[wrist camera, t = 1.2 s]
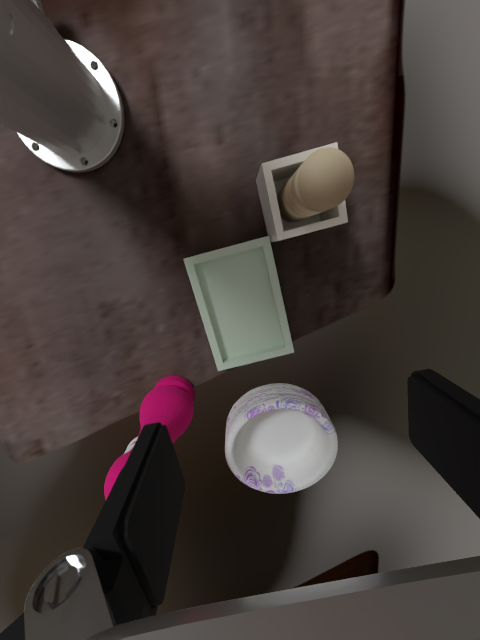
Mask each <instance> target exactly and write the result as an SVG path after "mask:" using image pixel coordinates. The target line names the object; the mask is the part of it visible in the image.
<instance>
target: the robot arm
mask: <svg viewBox="0 0 480 640" xmlns="http://www.w3.org/2000/svg"><path fill="white" fill-rule="evenodd" d="M124 122H125V118H124V107H123V103H122V99H121V95H120V92H119V90H118V88H117V85H116V83H115V81H114V80H113V78H112V76H111V75H110V73H109V72H108V70H107V69H106V68H105V66H104V65H103V64H102V62H101V61H100V60H99V59H98V58H97V57H96V56H95V55H94V54H93V53H92V52H90V51H89V50H87V49H86V48H85V47H83V46H82V45H80V44H78V43H75V42H73V41H71V40H68V39H63V38H62V36H61V35H60V34H59V33H58V32H57V30H56V29H55V28H54V27H53V25H52V23H51V21H50V20H49V19H48V18H47V17H45V15H44V12H43V7H42V3H41V1H40V0H0V124H2V125H4V126H6V127H8V128H10V129H12V130H14V131H16V132H17V134H18V136H19V137H20V138H21V140H22V141H23V143H24V144H25V145H26V146H27V147H28V149H29V150H30V151H31V152H32V153H33V154H34V155H36V156H37V157H38V158H40V159H41V160H42V161H44V162H46V163H48V164H50V165H52V166H54V167H56V168H58V169H61V170H64V171H68V172H74V173H80V172H88V171H92V170H95V169H97V168H99V167H101V166H103V165H104V164H105V163H106V162H108V161H109V160H110V159H111V158H112V156H113V155H114V154H115V153H116V151H117V149H118V147H119V145H120V143H121V139H122V136H123V132H124ZM116 125H117V127H116V128H115V126H116ZM87 162H88V164H87ZM408 418H409V437H410V440H411V442H412V444H413V445H414V446H415V448H416V449H417V450H418V451H419V452H420V453H421V454H422V455H423V456H424V458H425V459H426V460H427V461H428V462H429V463H430V464H431V465H432V466H433V467H434V469H436V471H437V472H438V473H439V474H440V475H441V476H442V477H443V479H444V480H445V481H446V482H447V483H448V484H449V485H450V486H451V487H452V488H453V490H454V491H456V493H457V494H458V495H459V496H460V497H461V498H462V500H463V501H464V502H465V503H466V504H467V505H468V506H469V507H470V508H471V509H472V511H473V512H474V513H475V514H476V515H477V516H478V517H479V518H480V399H478V398H476V397H475V396H473V395H472V394H470V393H468V392H467V391H465V390H464V389H462V388H461V387H459V386H457V385H456V384H454V383H453V382H451V381H449V380H448V379H446V378H445V377H443V376H441V375H440V374H438V373H437V372H435V371H433V370H431V369H425V370H420V371H415V372H413V373H412V374H411V377H409V378H408ZM184 491H185V479H184V476H183V473H182V470H181V467H180V464H179V461H178V458H177V455H176V452H175V449H174V447H173V443H172V440H171V438H170V435H169V432H168V429H167V426H166V425H162V424H161V423H160V422H157V423H152V424H147V425H144V427H143V428H142V430H141V432H140V435H139V437H138V439H137V441H136V443H135V445H134V447H133V449H132V451H131V453H130V455H129V457H128V459H127V462H126V464H125V466H124V467H123V468H122V470H121V471H120V473H119V475H118V477H117V479H116V481H115V483H114V485H113V487H112V489H111V491H110V493H109V495H108V497H107V499H106V501H105V504H104V506H103V508H102V510H101V512H100V514H99V516H98V518H97V520H96V522H95V524H94V526H93V528H92V530H91V532H90V534H89V536H88V538H87V540H86V543H85V544H84V547H83V548H76V549H73V550H70V551H68V552H66V553H64V554H63V555H61V556H60V557H58V558H57V559H55V560H54V561H53V562H52V563H51V564H50V565H49V566H48V567H47V568H46V569H45V570H44V571H43V572H42V574H41V575H40V576H39V577H38V578H37V580H36V581H35V583H34V585H33V586H32V588H31V589H30V591H29V594H28V596H27V599H26V601H25V609H24V613H23V614H22V615H21V616H20V617H19V618H17V619H16V620H15V621H14V622H13V623H12V624H11V625H10V626H8V627H7V628H6V629H5V630H4V631H3V632H2V633H0V640H480V556H477V557H471V558H464V559H459V560H453V561H447V562H441V563H435V564H430V565H424V566H418V567H412V568H406V569H400V570H395V571H389V572H384V573H378V574H372V575H366V576H361V577H355V578H350V579H344V580H338V581H333V582H327V583H322V584H316V585H310V586H305V587H299V588H294V589H288V590H283V591H278V592H272V593H267V594H261V595H256V596H250V597H245V598H240V599H234V600H229V601H224V602H218V603H213V604H208V605H202V606H198V607H193V608H188V609H183V610H178V611H173V612H169V613H164V614H159V615H156V611H157V606H158V605H161V604H162V603H163V600H164V596H165V591H166V585H167V581H168V575H169V570H170V565H171V559H172V554H173V549H174V543H175V538H176V533H177V528H178V523H179V517H180V512H181V507H182V501H183V496H184Z"/></svg>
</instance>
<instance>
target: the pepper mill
mask: <svg viewBox="0 0 480 640" xmlns="http://www.w3.org/2000/svg"><path fill="white" fill-rule="evenodd" d="M194 397H195V392H194V388H193V386H192V384H191V383H190V382H189V381H188V380H186V379H185V378H183V377H180V376H175V375H172V376H166V377H164V378H162V379H161V380H159V381H158V382H157V384H156V386H155V387H154V389H152V390H151V391H150V392H149V393H148V394H147V395H146V396H145V398H144V400H143V402H142V405H141V407H140V425H141V430H142V428H143V427H144V425H147V424H152V423H157V422H160V423H161V424H162V425H166V426H167V429H168V432H169V435H170V438H171V440H172V443H174V441H175V440H176V439H177V438H178V437H179V436H180V435H181V434H183V433H184V432H185V430H186V429H187V428H188V426H189V425H190V423H191V420H192V418H193V415H194V404H193V400H194ZM140 432H141V431H140ZM139 435H140V433H139ZM138 437H139V436H138ZM138 437H136V438H135V439H133V440H132V441H131V442H130V444H129V445H128V447H127V450H126V451H125V453H124V454H123V455H122V456H121V457H119V458H118V459H117V460H116V461H115V462H114V464H113V465H112V467H111V468H110V470H109V472H108V475H107V477H106V481H105V485H104V494H105V500H106V499H107V497H108V495H109V493H110V491H111V489H112V487H113V485H114V483H115V481H116V479H117V477H118V475H119V473H120V471H121V470H122V468H123V467H124V466H125V464H126V462H127V459H128V457H129V455H130V453H131V451H132V449H133V447H134V445H135V443H136V441H137V439H138Z"/></svg>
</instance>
